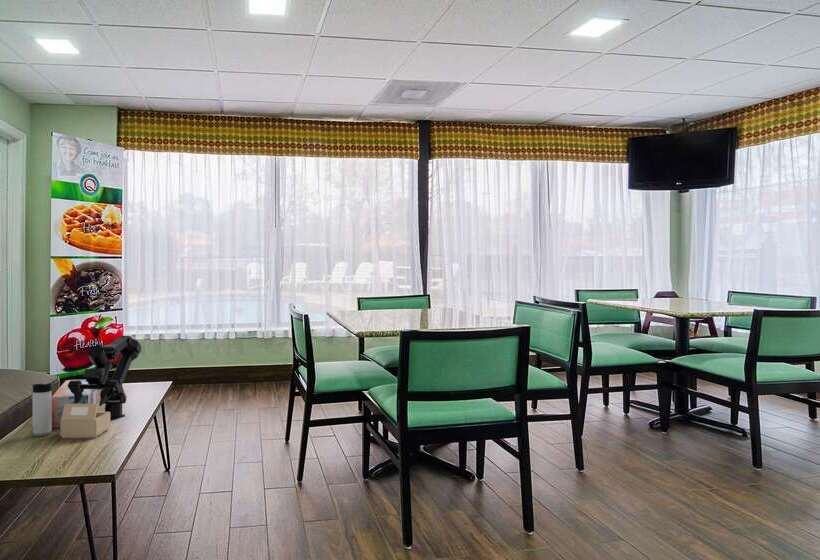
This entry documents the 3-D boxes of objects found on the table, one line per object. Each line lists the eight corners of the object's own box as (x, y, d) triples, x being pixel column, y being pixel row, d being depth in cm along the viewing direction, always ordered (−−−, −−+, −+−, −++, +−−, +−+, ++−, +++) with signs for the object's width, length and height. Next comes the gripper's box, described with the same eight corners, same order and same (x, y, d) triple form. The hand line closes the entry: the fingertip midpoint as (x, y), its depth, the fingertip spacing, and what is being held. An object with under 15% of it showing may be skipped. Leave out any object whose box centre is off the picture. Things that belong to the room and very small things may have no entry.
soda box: (89, 426, 242) (89, 394, 241) (49, 429, 236) (49, 397, 236) (98, 404, 279) (98, 377, 279) (64, 407, 274) (64, 378, 274)
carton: (76, 429, 236) (76, 411, 236) (110, 429, 237) (110, 411, 237) (60, 438, 224) (60, 419, 224) (96, 438, 225) (96, 419, 224)
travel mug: (29, 437, 225) (29, 384, 224) (35, 432, 231) (35, 381, 230) (48, 436, 226) (48, 383, 226) (53, 431, 233) (53, 380, 232)
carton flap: (65, 404, 226) (64, 403, 225) (98, 403, 227) (97, 403, 226) (61, 419, 224) (61, 419, 223) (94, 419, 224) (94, 419, 224)
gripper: (69, 360, 236) (55, 393, 225) (118, 360, 237) (106, 393, 226) (79, 376, 244) (65, 409, 233) (126, 376, 245) (114, 409, 234)
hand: (87, 405), depth 231 cm, fingers open, 9 cm apart
